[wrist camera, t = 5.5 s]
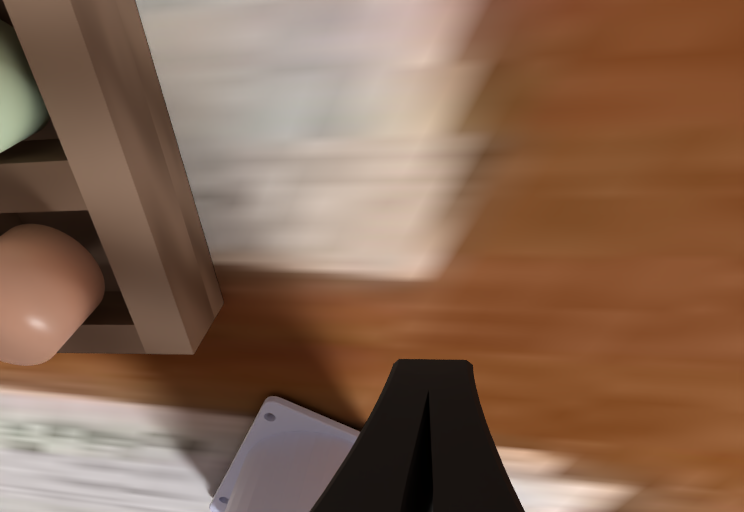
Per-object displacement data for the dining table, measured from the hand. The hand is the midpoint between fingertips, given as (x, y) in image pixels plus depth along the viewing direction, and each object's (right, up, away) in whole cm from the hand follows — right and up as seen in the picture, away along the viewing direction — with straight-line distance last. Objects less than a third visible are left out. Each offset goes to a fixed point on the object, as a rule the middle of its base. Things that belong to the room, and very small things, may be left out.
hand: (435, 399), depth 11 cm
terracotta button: (-12, +2, +8) cm, 14 cm away
